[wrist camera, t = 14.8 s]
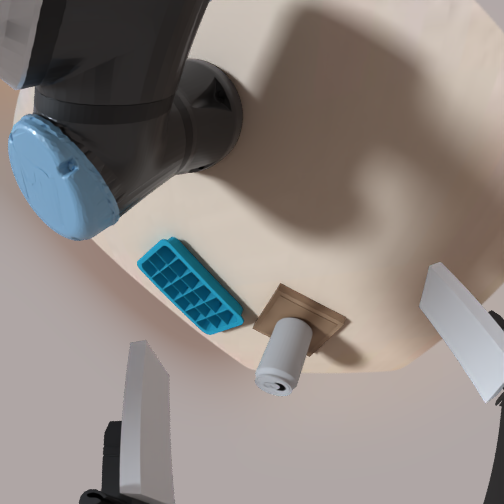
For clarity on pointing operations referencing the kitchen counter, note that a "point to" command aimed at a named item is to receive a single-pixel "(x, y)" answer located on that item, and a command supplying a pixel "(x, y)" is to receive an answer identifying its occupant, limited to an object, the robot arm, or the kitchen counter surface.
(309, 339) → the beverage can
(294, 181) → the kitchen counter surface
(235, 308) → the ice cube tray
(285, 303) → the walnut block
